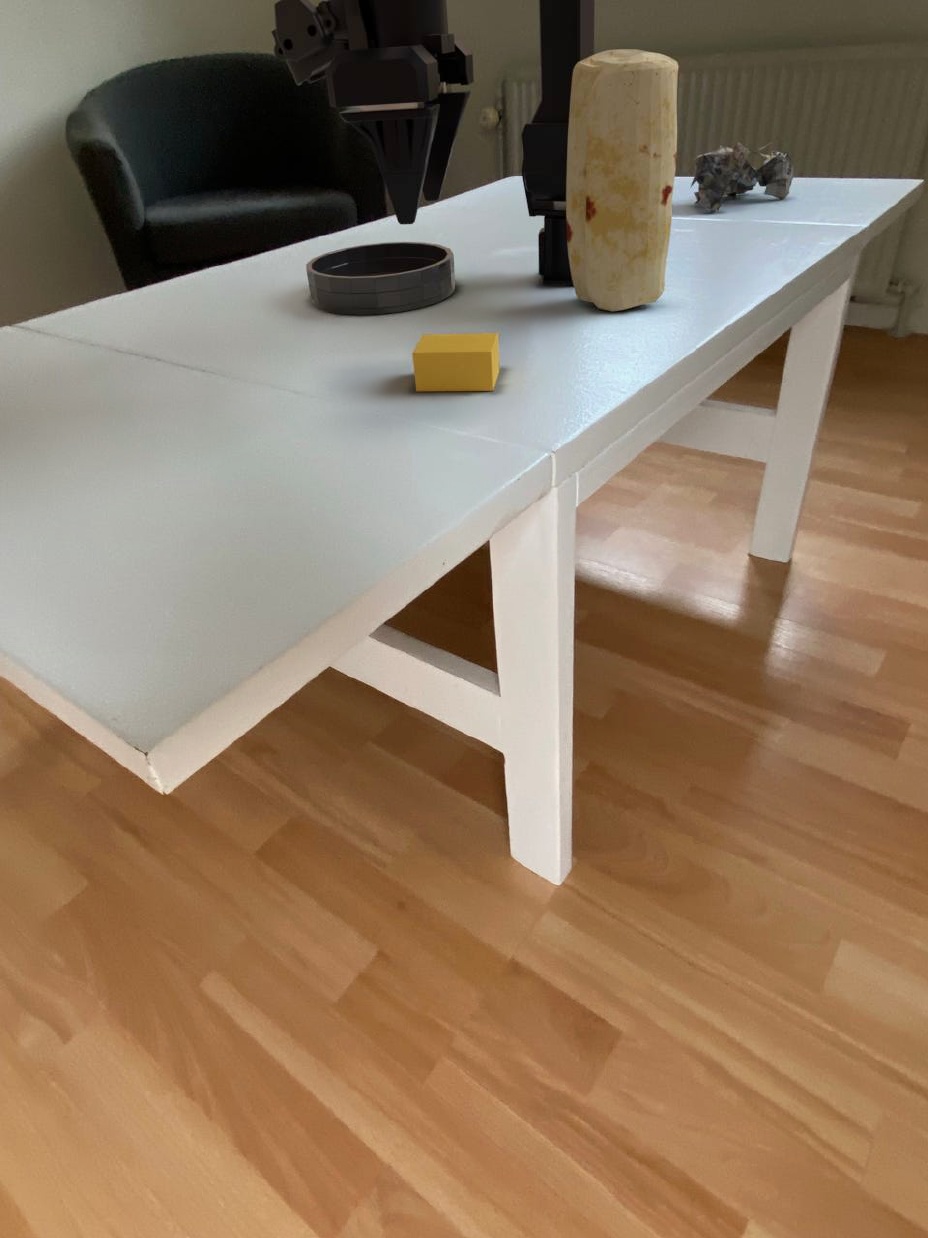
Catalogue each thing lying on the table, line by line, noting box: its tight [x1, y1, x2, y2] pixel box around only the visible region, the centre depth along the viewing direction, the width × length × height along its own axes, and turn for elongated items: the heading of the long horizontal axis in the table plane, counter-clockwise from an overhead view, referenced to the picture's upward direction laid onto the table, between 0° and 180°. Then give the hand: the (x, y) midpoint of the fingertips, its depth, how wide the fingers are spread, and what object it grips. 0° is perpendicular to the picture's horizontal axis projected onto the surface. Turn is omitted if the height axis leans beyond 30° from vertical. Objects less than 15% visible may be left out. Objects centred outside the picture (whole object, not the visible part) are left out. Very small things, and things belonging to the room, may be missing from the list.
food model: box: [566, 48, 680, 313], centre depth 72 cm, size 10×7×20 cm
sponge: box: [411, 332, 500, 392], centre depth 63 cm, size 6×4×3 cm
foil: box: [689, 141, 795, 214], centre depth 111 cm, size 12×11×15 cm
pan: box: [305, 241, 456, 316], centre depth 85 cm, size 15×15×4 cm
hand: (420, 211), depth 60 cm, fingers open, 9 cm apart
